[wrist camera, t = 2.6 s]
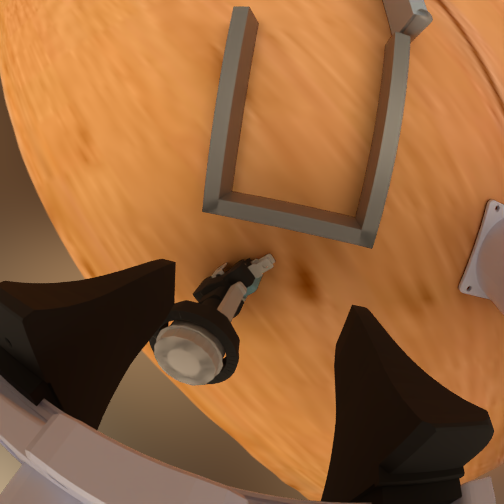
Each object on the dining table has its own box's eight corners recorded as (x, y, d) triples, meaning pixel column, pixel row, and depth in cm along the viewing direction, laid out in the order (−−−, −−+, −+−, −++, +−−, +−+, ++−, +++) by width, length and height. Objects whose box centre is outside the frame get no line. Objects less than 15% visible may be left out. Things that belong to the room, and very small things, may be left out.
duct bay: (398, 49, 14) (410, 36, 11) (365, 234, 19) (372, 248, 17) (244, 22, 15) (233, 6, 13) (217, 202, 21) (202, 211, 18)
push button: (254, 226, 21) (205, 293, 12) (293, 282, 22) (274, 375, 13) (190, 268, 24) (123, 339, 14) (228, 316, 25) (183, 402, 15)
